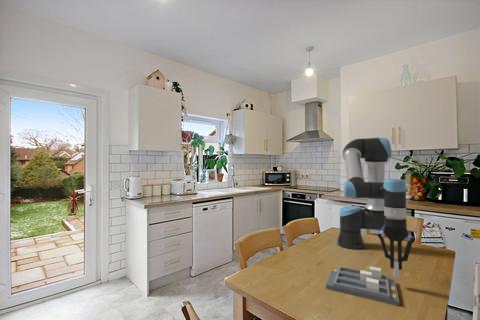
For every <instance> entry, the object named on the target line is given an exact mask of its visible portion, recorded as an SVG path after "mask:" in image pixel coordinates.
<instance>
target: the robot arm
mask: <svg viewBox="0 0 480 320" xmlns="http://www.w3.org/2000/svg"><path fill="white" fill-rule="evenodd" d="M342 158H343V160H344V163H345V171H346V173H345V174H346V181H344V182H343V196H344V197H345V198H350V199H366V200H367V204H365V205H364V208H363V209H362V208H361V206H358V205H349V206H343V207H341V208H340V209H339V215H338V216H339V233H338V237H337V239H336V245H338V246H340V247H342V248H343V249H344V248H346V249H350V250H361V249H362V250H363V249H364V248H365V241H364V238H363V236H362V235H363V234H362V230H373V231H378V232H377V233H376V234H377V235H376V236H377V237H378V239H379V240H380V242H381V247H382V250H383V253H384V256H385V258H386V259H389V260H390V261H389V262H390V264H389V265H390V268H391V269H393V277H394V278H393V279H398V280H399V279H400V275H399V274H400V271H401V270H403V262H408V260H409V257H410V253H411V249H412V245H413V243H414V242H415V241H416V238H415V236H413V235H411V234H410V233H409V231H408V228H407V225H408V223H407V221H408V220H407V219H406V218H407V186H406V180H404V179H399V178H385V175H386V174H385V172H386V171H385V165H386V164H387V163H388V162H389V160H388V159H391V158H392V146H391V143H390V140H389V139H388V138H386V137H369V138H355V139H353V140H351V141H350V142H348V143H347V144H346V145H345V146H344V147H343V150H342ZM361 159H364V162H365V164H366V165H367V181H366V180H365V176H364V171H363V167H362V161H361ZM379 231H380V232H379ZM385 236H386V237H387V239H388V240H389V252H388V249H387V244H386V242H385V241H386V240H385ZM405 239H407V242H406V245H405V249H404V252H403V249H402V247H403V245H402V244H403V241H405ZM395 242H397V245H396V246H397V259H396V258H395ZM402 254H403V255H402Z"/></svg>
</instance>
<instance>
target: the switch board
mask: <svg viewBox="0 0 480 320" xmlns="http://www.w3.org/2000/svg"><path fill="white" fill-rule="evenodd" d="M372 279H376V280H379V292H376V291H371V290H367V289H366V282H363V281H360V269H355V268H350V267H345V266H341V265H339V266H338V268H337V267H332V269H331V272H330V274H329V277H328V279H327V282H326V284H325V285H326V286H325V288H326V289H327V290H332V291H335V292H340V293H344V294H348V295H352V296H357V297H361V298H365V299H367V300H368V299H369V300H373V301H377V302H381V303H385V304H390V305H394V306H400V300H399V293H398V288H397V283H396V278H390V277H388V275H387V274H382V273H381V279H379V278H374V277H372Z"/></svg>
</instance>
